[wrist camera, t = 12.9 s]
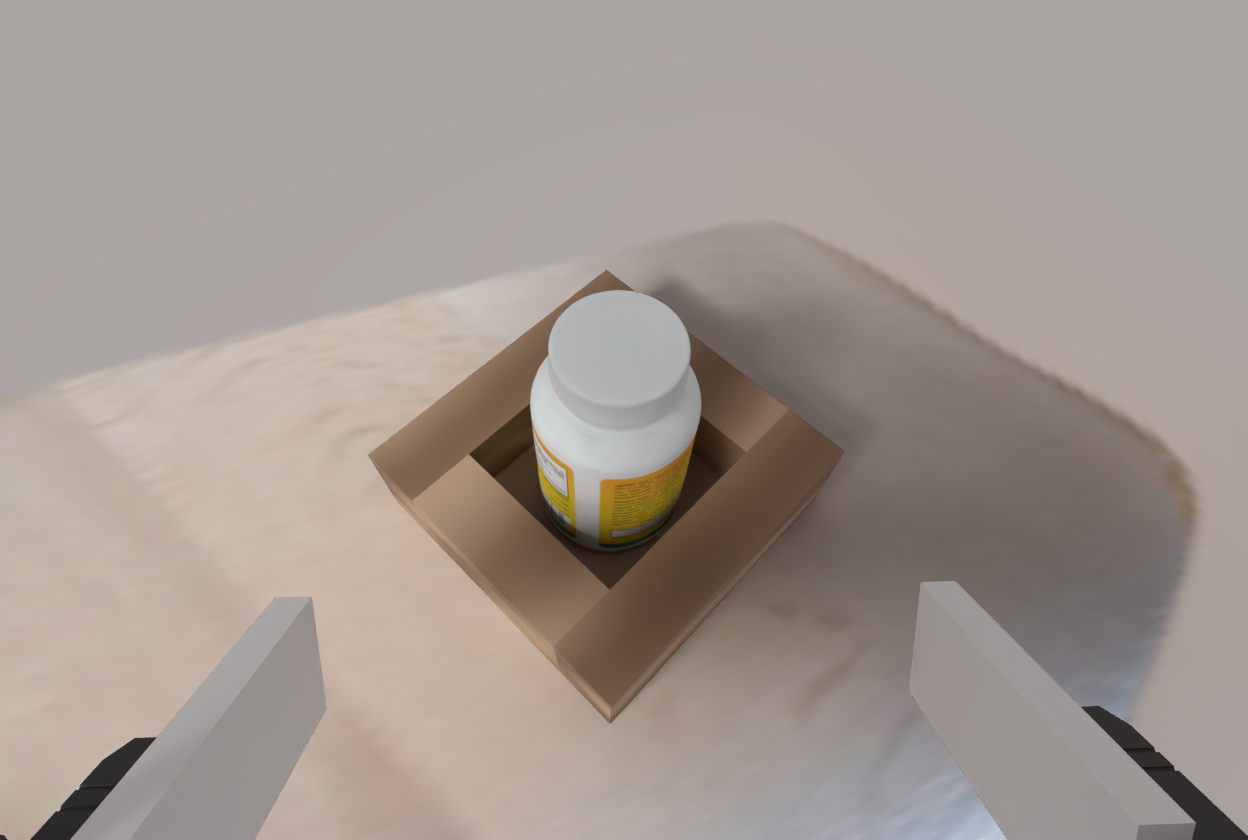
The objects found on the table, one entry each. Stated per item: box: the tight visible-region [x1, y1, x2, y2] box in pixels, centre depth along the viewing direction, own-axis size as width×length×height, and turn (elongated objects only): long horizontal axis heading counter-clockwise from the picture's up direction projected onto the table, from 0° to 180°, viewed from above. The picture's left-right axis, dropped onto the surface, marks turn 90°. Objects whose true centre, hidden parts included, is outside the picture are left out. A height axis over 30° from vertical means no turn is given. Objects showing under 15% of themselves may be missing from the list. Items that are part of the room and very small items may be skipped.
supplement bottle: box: [530, 290, 701, 551], centre depth 24 cm, size 5×5×10 cm
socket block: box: [368, 270, 844, 723], centre depth 28 cm, size 12×12×4 cm
